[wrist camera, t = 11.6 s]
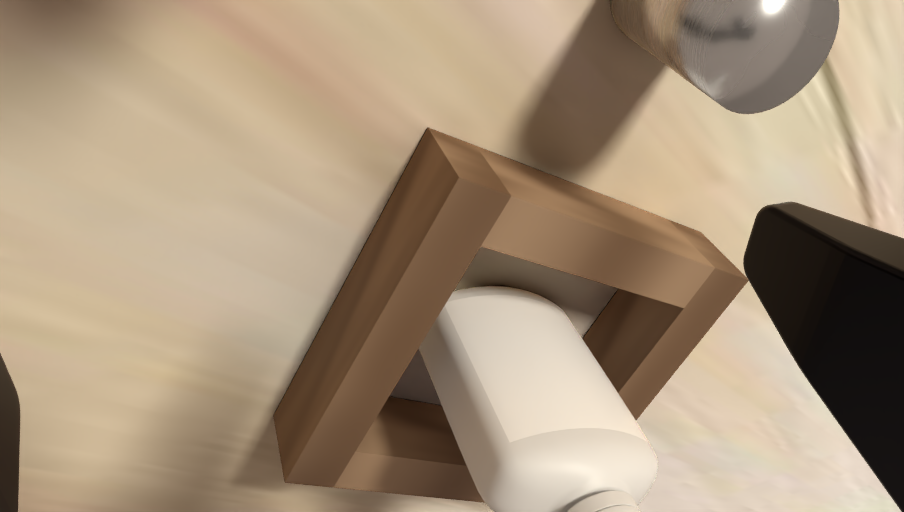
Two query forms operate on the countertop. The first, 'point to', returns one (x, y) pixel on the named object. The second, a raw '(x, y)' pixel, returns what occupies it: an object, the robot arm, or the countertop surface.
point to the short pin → (735, 44)
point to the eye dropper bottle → (534, 407)
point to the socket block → (433, 281)
